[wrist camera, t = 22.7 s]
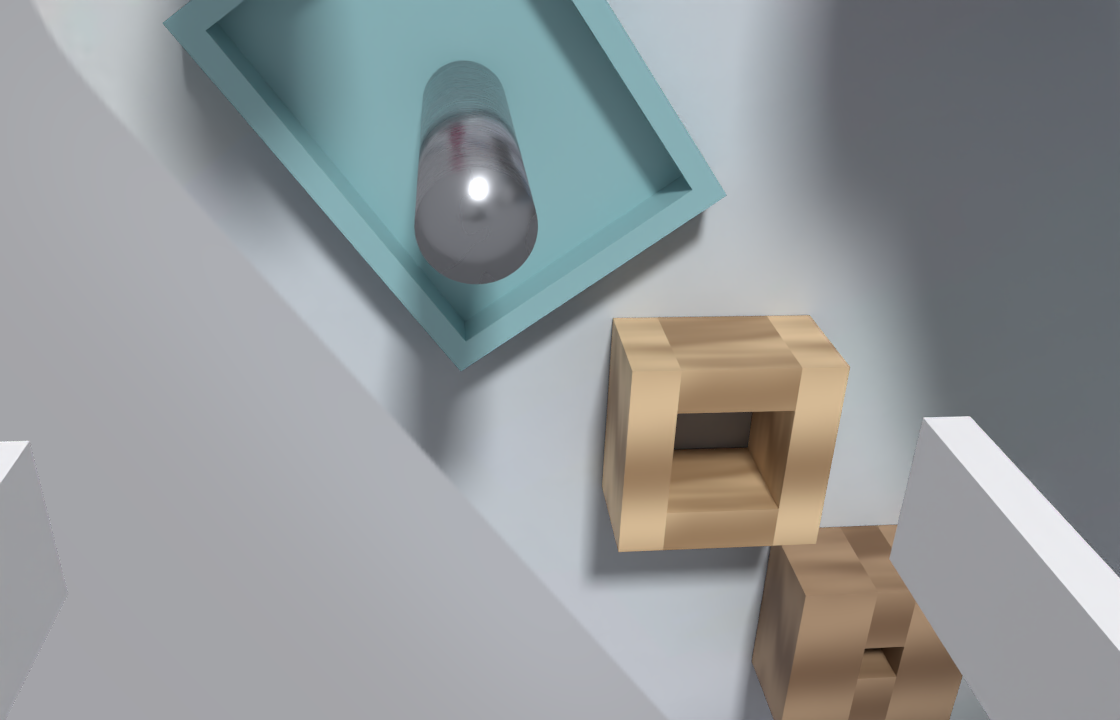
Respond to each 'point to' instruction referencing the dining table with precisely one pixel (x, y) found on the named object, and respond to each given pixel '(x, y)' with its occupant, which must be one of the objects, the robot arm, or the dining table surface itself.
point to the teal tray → (395, 124)
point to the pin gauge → (471, 179)
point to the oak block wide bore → (721, 473)
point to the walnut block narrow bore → (848, 634)
